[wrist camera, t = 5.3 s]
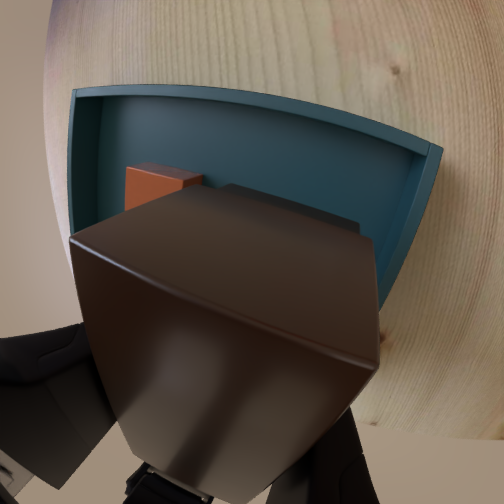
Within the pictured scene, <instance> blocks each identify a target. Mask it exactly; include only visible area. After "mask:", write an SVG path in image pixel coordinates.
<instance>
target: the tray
mask: <svg viewBox="0 0 504 504" xmlns="http://www.w3.org/2000/svg"><path fill="white" fill-rule="evenodd" d="M443 150H444V149H443V148H442V147H440V146H438V145H435V144H433V143H430V142H429V141H426V140H424V139H422V138H419V137H417V136H414V135H412V134H409V133H407V132H404V131H402V130H399V129H396V128H394V127H391V126H388V125H385V124H383V123H380V122H377V121H374V120H371V119H368V118H364V117H361V116H358V115H355V114H351V113H348V112H345V111H341V110H337V109H334V108H330V107H326V106H322V105H318V104H314V103H310V102H305V101H301V100H296V99H291V98H286V97H281V96H275V95H270V94H264V93H257V92H251V91H244V90H236V89H227V88H217V87H206V86H192V85H167V84H137V85H113V86H99V87H89V88H80V89H73V90H72V96H71V105H70V115H69V128H68V147H67V190H68V210H69V223H70V233H71V235H73V234H75V233H77V232H79V231H82V230H84V229H86V228H88V227H90V226H92V225H95V224H97V223H99V222H101V221H104V220H106V219H108V218H110V217H113V216H115V215H117V214H120V213H122V212H125V184H126V167H127V166H131V165H136V164H140V163H145V162H153V163H157V164H162V165H166V166H171V167H175V168H179V169H184V170H188V171H192V172H196V173H200V174H203V180H202V185H203V186H206V187H210V188H214V189H217V188H220V187H222V186H225V185H227V184H230V183H233V184H237V185H240V186H244V187H247V188H251V189H255V190H258V191H262V192H265V193H268V194H272V195H275V196H279V197H282V198H285V199H288V200H292V201H295V202H298V203H301V204H304V205H308V206H311V207H314V208H317V209H320V210H323V211H326V212H329V213H332V214H335V215H338V216H341V217H344V218H347V219H350V220H353V221H355V222H358V223H359V224H360V235H362V236H365V237H368V238H371V239H372V240H373V244H374V253H375V262H376V273H377V286H378V302H379V311H380V310H381V308H382V306H383V304H384V302H385V300H386V298H387V296H388V294H389V292H390V290H391V288H392V286H393V284H394V282H395V280H396V278H397V276H398V273H399V271H400V269H401V267H402V265H403V262H404V260H405V258H406V256H407V253H408V251H409V249H410V246H411V244H412V242H413V239H414V237H415V234H416V232H417V229H418V227H419V224H420V221H421V219H422V216H423V213H424V211H425V208H426V205H427V202H428V199H429V196H430V193H431V190H432V187H433V184H434V181H435V178H436V175H437V171H438V168H439V164H440V161H441V157H442V154H443Z"/></svg>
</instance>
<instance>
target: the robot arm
mask: <svg viewBox="0 0 504 504" xmlns="http://www.w3.org/2000/svg"><path fill="white" fill-rule="evenodd" d="M116 421H117V419H116V417H115V414H114V412H113V409H112V407H111V405H110V402H109V400H108V397H107V394H106V392H105V389H104V386H103V384H102V381H101V378H100V375H99V372H98V369H97V366H96V363H95V360H94V357H93V354H92V351H91V347H90V344H89V340H88V337H87V333H86V329H85V325H84V322H82V323H80V324H75V325H70V326H67V327H63V328H59V329H55V330H50V331H45V332H39V333H34V334H28V335H21V336H15V337H8V338H0V504H19V503H18V502H17V501H16V500H15V499H14V497H15V496H16V495H17V493H19V492H20V490H21V489H22V488H23V487H24V486H25V485H26V484H27V483H28V482H29V481H30V480H31V479H32V477H33V476H34V475H36V476H37V477H39V478H40V479H41V480H43V481H45V482H46V483H48V484H50V485H51V486H53V487H54V488H56V489H58V490H59V489H60V488H61V487H62V486H63V485H64V484H65V482H66V481H67V480H68V479H69V478H70V477H71V475H72V474H73V473H74V472H75V471H76V469H77V468H78V467H79V466H80V465H81V463H82V462H83V461H84V460H85V459H86V457H87V456H88V455H89V454H90V453H91V450H93V449H94V448H95V446H96V445H97V444H98V443H99V442H100V440H101V439H102V438H103V437H104V436H105V434H106V433H107V432H108V431H109V430H110V428H111V427H112V426H113V425H114V424H115V422H116ZM362 453H363V450H362V446H361V442H360V439H359V435H358V432H357V428H356V425H355V421H354V418H353V414H352V411H351V408H350V406H349V407H348V409H347V410H346V411H345V412H344V413H343V414H342V416H341V417H340V418H339V419H338V420H337V421H336V422H335V423H334V425H333V426H332V427H331V428H330V429H329V430H328V431H327V432H326V433H325V434H324V435H323V436H322V437H321V438H320V440H319V441H318V442H317V443H316V444H315V445H314V446H313V447H312V448H311V449H310V450H309V451H308V452H307V453H306V454H305V455H303V456H302V457H301V458H300V459H299V460H298V461H297V462H296V463H295V464H294V465H293V466H292V467H291V468H290V469H288V470H287V471H286V472H285V473H284V474H283V475H282V476H280V477H279V478H278V479H277V480H276V481H275V482H273V483H272V486H271V489H270V492H269V495H268V498H267V501H266V504H380V503H379V501H378V498H377V495H376V492H375V490H374V487H373V484H372V481H371V478H370V474H369V471H368V468H367V464H366V460H365V457H364V454H362ZM152 472H153V473H152ZM163 477H164V478H163ZM172 482H173V483H172ZM126 484H127V488H126V491H125V494H126V495H127V496H128V497H127V498H126V499H125V501H124V502H123V504H211V503H212V501H213V499H214V497H213V496H211V495H209V494H206V493H204V492H202V491H200V490H197V489H195V488H193V487H191V486H189V485H187V484H185V483H183V482H181V481H179V480H177V479H175V478H173V477H171V476H169V475H168V474H166V473H164V472H162V471H160V470H159V469H157V468H155V467H153V466H152V465H150V464H148V463H147V462H145V461H144V463H143V464H142V465H141V466H140V468H139V469H138V470H137V471H135V473H133V474H132V475H131V476H130V477H129V478H128V479H127V481H126ZM202 498H204V499H203V500H201V499H202Z"/></svg>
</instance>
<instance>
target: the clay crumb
mask: <svg viewBox="0 0 504 504" xmlns="http://www.w3.org/2000/svg"><path fill="white" fill-rule="evenodd" d="M202 180H203V174H200V173H196V172H192V171H188V170H184V169H179V168H175V167H171V166H166V165H162V164H157V163H153V162H145V163H140V164H136V165H131V166H127V167H126V184H125V211H127V210H129V209H132V208H134V207H137V206H139V205H142V204H144V203H147V202H149V201H152V200H154V199H157V198H159V197H162V196H165V195H167V194H170V193H173V192H175V191H178V190H181V189H184V188H186V187H189V186H192V185H195V184H199V185H202Z"/></svg>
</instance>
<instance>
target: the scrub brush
mask: <svg viewBox="0 0 504 504" xmlns="http://www.w3.org/2000/svg"><path fill="white" fill-rule="evenodd" d="M69 247H70V254H71V261H72V267H73V274H74V279H75V285H76V289H77V295H78V300H79V304H80V308H81V313H82V317H83V321H84V325H85V329H86V333H87V337H88V340H89V344H90V347H91V351H92V354H93V357H94V360H95V363H96V366H97V369H98V372H99V375H100V378H101V381H102V384H103V386H104V389H105V392H106V394H107V397H108V400H109V402H110V405H111V407H112V409H113V412H114V414H115V417H116V419H117V421H118V423H119V426H120V428H121V430H122V432H123V434H124V436H125V438H126V440H127V442H128V445H129V447H130V449H131V451H132V452H133V454H134V455H136V456H137V457H139V458H140V459H142V460H143V461H145V462H147V463H148V464H150V465H152V466H153V467H155V468H157V469H159V470H160V471H162V472H164V473H166V474H168V475H169V476H171V477H173V478H175V479H177V480H179V481H181V482H183V483H185V484H187V485H189V486H191V487H193V488H195V489H197V490H200V491H202V492H204V493H206V494H209V495H211V496H213V497H216V498H218V499H221V500H223V501H226V502H228V503H231V504H247V503H248V502H249V501H251V500H252V499H253V498H255V497H256V496H257V495H259V494H260V493H261V492H262V491H264V490H265V489H266V488H267V487H268V486H270V485H271V484H272V483H273V482H275V481H276V480H277V479H278V478H279V477H280V476H282V475H283V474H284V473H285V472H286V471H287V470H288V469H290V468H291V467H292V466H293V465H294V464H295V463H296V462H297V461H298V460H299V459H300V458H301V457H302V456H303V455H305V454H306V453H307V452H308V451H309V450H310V449H311V448H312V447H313V446H314V445H315V444H316V443H317V442H318V441H319V440H320V438H321V437H322V436H323V435H324V434H325V433H326V432H327V431H328V430H329V429H330V428H331V427H332V426H333V425H334V423H335V422H336V421H337V420H338V419H339V418H340V417H341V416H342V414H343V413H344V412H345V411H346V410H347V409H348V407H349V406H350V405H351V404H352V403H353V401H354V400H355V399H356V398H357V396H358V395H359V394H360V393H361V391H362V390H363V389H364V388H365V386H366V385H367V384H368V382H369V381H370V380H371V379H372V377H373V376H374V374H375V373H376V372H377V370H378V369H379V364H380V328H379V302H378V286H377V273H376V262H375V253H374V244H373V240H372V239H371V238H368V237H365V236H362V235H360V224H359V223H358V222H355V221H353V220H350V219H347V218H344V217H341V216H338V215H335V214H332V213H329V212H326V211H323V210H320V209H317V208H314V207H311V206H308V205H304V204H301V203H298V202H295V201H292V200H288V199H285V198H282V197H279V196H275V195H272V194H268V193H265V192H262V191H258V190H255V189H251V188H247V187H244V186H240V185H237V184H233V183H230V184H227V185H225V186H222V187H220V188H217V189H214V188H210V187H206V186H203V185H199V184H195V185H192V186H189V187H186V188H184V189H181V190H178V191H175V192H173V193H170V194H167V195H165V196H162V197H159V198H157V199H154V200H152V201H149V202H147V203H144V204H142V205H139V206H137V207H134V208H132V209H129V210H127V211H125V212H122V213H120V214H117V215H115V216H113V217H110V218H108V219H106V220H104V221H101V222H99V223H97V224H95V225H92V226H90V227H88V228H86V229H84V230H82V231H79V232H77V233H75V234H73V235H71V236H70V237H69Z"/></svg>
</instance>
